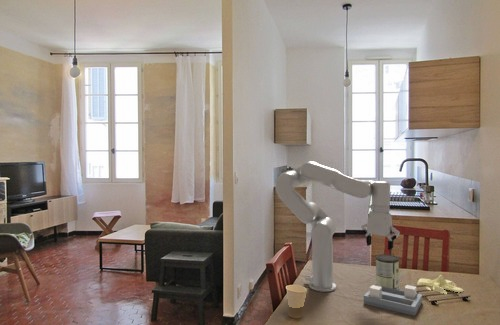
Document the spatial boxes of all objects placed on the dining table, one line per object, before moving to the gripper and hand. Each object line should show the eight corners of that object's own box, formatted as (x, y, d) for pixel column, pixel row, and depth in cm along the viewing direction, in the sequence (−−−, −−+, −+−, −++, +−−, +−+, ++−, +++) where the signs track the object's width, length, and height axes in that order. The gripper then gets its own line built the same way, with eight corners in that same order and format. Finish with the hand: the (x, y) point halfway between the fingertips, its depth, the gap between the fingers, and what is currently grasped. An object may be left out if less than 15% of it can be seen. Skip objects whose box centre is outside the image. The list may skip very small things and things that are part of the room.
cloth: (410, 280, 181) (410, 268, 181) (447, 280, 181) (448, 268, 181) (432, 298, 159) (432, 284, 159) (474, 298, 158) (474, 284, 158)
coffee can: (375, 281, 178) (375, 253, 177) (398, 284, 174) (398, 255, 174) (375, 289, 168) (375, 259, 168) (399, 292, 165) (399, 261, 164)
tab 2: (404, 299, 152) (404, 287, 152) (406, 296, 155) (406, 284, 155) (414, 301, 150) (414, 289, 150) (416, 298, 153) (416, 286, 153)
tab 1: (369, 299, 152) (369, 287, 152) (372, 296, 155) (372, 285, 155) (379, 301, 150) (379, 289, 150) (381, 298, 153) (381, 286, 153)
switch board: (363, 303, 152) (363, 295, 152) (374, 292, 164) (374, 284, 164) (414, 316, 141) (414, 307, 141) (422, 302, 153) (422, 294, 153)
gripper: (358, 207, 163) (357, 244, 164) (396, 212, 151) (395, 253, 152) (366, 205, 169) (365, 242, 169) (403, 210, 157) (402, 249, 157)
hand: (379, 247), depth 161 cm, fingers open, 9 cm apart
